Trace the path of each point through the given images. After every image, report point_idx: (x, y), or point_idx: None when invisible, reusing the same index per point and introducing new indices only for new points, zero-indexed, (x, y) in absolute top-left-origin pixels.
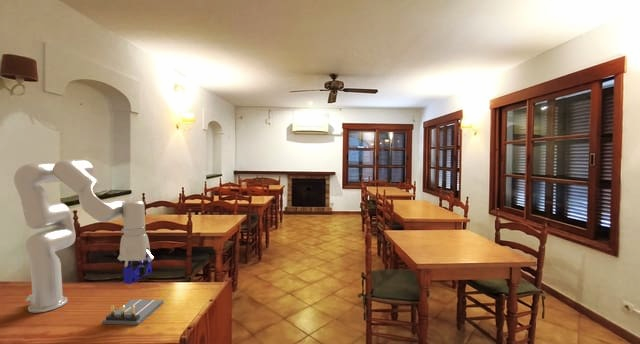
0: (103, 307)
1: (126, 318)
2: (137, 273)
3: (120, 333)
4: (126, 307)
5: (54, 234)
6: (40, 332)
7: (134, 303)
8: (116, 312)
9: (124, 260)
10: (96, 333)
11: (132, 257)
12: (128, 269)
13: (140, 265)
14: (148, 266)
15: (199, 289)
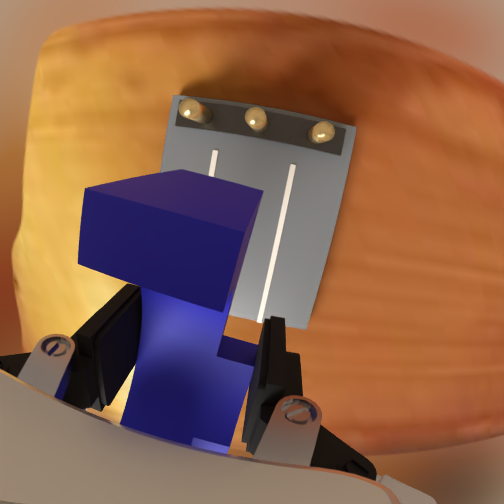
0: (410, 288)
1: (233, 106)
2: (188, 352)
3: (227, 37)
4: (298, 249)
5: None
6: None
7: (274, 286)
8: (326, 202)
9: (297, 466)
10: (334, 50)
11: (57, 469)
12: (130, 192)
13: (69, 360)
14: (123, 425)
15: None
